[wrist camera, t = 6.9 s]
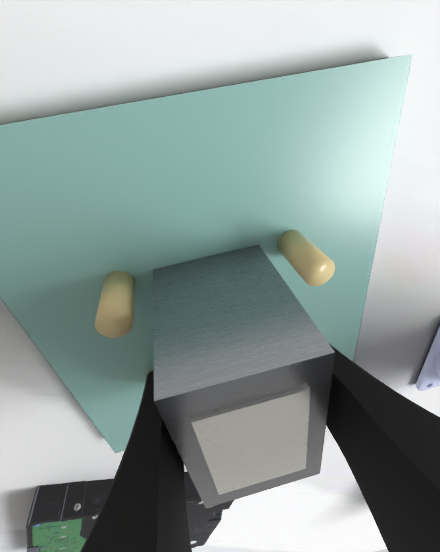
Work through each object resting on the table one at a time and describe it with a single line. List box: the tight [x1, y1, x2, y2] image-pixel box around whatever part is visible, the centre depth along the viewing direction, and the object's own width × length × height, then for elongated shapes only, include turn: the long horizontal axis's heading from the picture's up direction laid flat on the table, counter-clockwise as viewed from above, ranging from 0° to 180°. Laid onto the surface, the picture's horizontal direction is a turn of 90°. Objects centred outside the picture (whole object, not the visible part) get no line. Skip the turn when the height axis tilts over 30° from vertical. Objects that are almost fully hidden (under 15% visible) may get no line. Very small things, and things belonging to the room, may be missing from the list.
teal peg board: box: [0, 54, 412, 453], centre depth 13 cm, size 16×18×4 cm
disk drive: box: [26, 472, 234, 552], centre depth 24 cm, size 10×3×15 cm
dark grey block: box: [153, 245, 335, 508], centre depth 11 cm, size 4×7×6 cm, turn 8°
